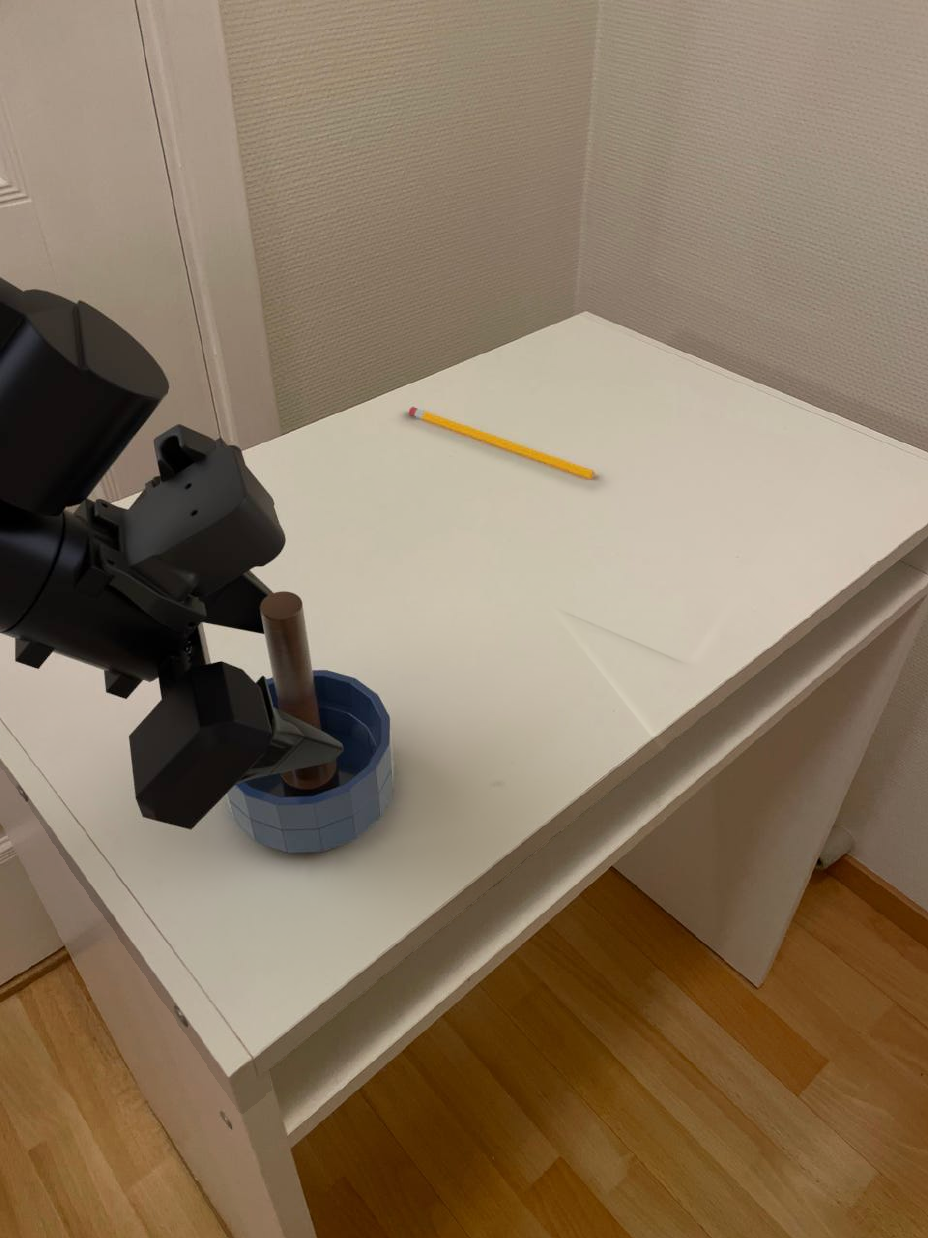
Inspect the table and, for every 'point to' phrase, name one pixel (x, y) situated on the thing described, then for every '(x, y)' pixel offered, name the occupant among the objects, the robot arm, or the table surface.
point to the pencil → (502, 443)
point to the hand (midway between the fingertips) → (317, 687)
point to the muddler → (295, 684)
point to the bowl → (360, 766)
